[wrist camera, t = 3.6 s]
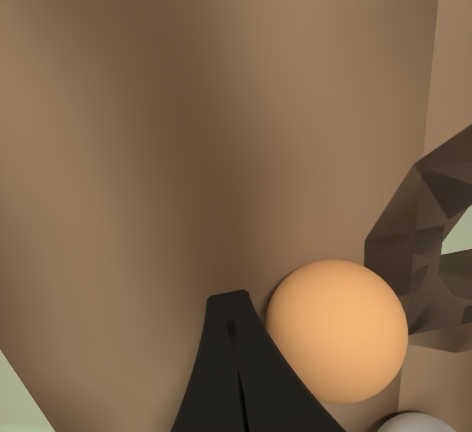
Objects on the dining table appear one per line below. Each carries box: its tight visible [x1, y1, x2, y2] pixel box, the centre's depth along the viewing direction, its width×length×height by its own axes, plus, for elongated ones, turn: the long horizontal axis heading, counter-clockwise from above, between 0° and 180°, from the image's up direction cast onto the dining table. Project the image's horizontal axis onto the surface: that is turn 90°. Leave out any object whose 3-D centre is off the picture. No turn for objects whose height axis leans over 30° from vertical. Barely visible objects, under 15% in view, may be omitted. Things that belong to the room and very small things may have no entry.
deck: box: [0, 0, 472, 432], centre depth 14 cm, size 20×22×2 cm
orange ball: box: [265, 259, 408, 404], centre depth 11 cm, size 4×4×4 cm
